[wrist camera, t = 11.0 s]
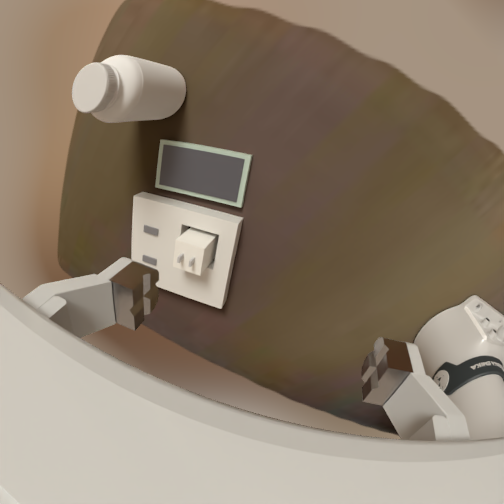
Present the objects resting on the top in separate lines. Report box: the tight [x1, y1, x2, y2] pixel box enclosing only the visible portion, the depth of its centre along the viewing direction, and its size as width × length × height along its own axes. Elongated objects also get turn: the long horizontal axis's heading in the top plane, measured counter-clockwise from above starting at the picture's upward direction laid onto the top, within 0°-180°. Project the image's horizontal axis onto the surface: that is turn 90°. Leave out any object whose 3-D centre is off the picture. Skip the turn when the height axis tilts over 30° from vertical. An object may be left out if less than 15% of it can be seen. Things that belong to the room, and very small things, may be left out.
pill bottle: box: [72, 55, 186, 123], centre depth 27 cm, size 8×8×15 cm
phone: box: [155, 139, 253, 208], centre depth 37 cm, size 13×7×2 cm, turn 78°
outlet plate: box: [132, 192, 243, 309], centre depth 42 cm, size 16×14×3 cm
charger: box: [173, 227, 219, 276], centre depth 39 cm, size 4×4×7 cm
